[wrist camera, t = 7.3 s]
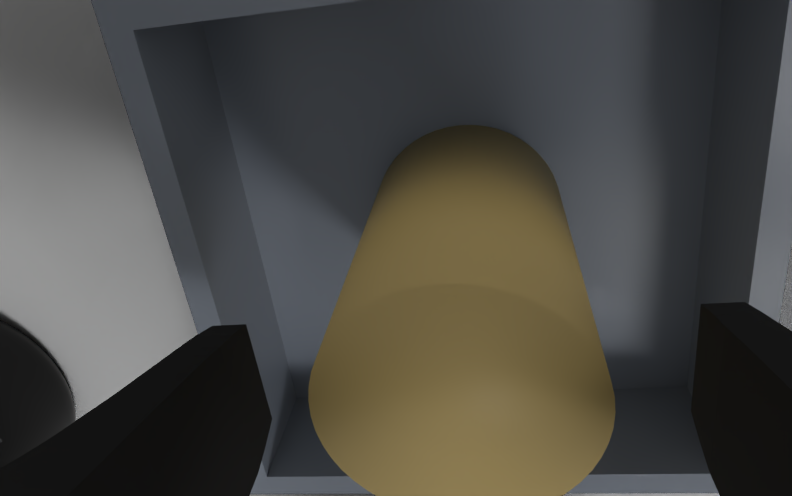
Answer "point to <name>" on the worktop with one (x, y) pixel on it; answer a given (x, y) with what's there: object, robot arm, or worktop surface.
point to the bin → (485, 106)
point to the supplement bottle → (29, 395)
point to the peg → (464, 332)
